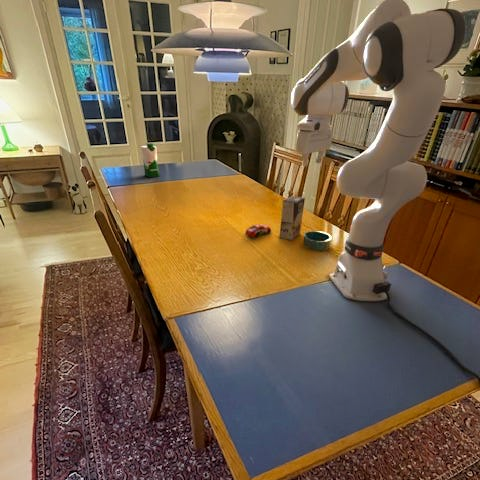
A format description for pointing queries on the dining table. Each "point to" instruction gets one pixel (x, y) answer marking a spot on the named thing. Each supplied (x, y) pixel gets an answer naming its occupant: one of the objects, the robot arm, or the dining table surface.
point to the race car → (257, 230)
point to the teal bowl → (317, 240)
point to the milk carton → (150, 160)
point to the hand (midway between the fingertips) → (312, 164)
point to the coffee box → (291, 217)
